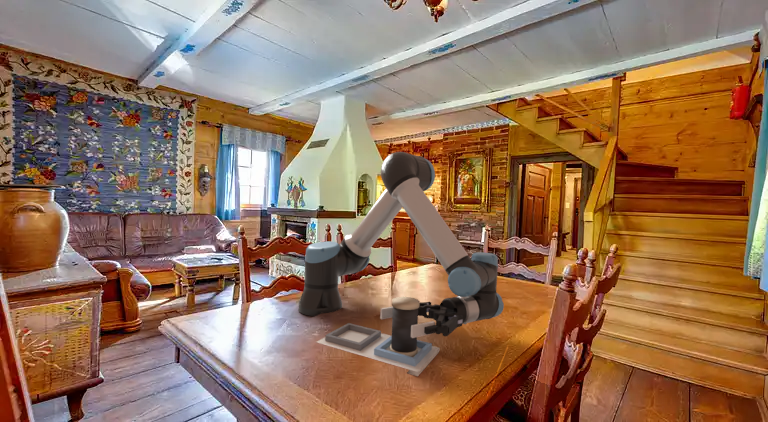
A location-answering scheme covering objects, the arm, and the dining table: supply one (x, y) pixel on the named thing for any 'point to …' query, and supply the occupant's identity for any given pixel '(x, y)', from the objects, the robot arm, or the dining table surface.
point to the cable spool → (404, 325)
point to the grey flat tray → (379, 347)
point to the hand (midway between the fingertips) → (395, 322)
